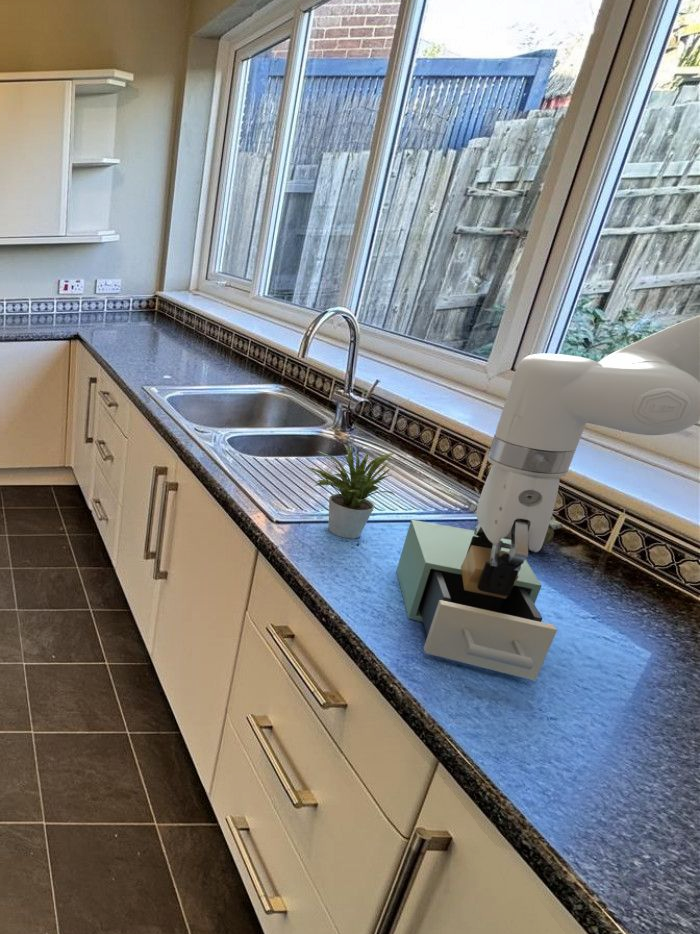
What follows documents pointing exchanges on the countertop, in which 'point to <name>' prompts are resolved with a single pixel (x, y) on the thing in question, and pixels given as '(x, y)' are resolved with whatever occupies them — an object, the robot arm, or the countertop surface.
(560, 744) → the countertop surface
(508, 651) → the beige cabinet drawer
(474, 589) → the block
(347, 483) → the house plant
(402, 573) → the green drawer box
